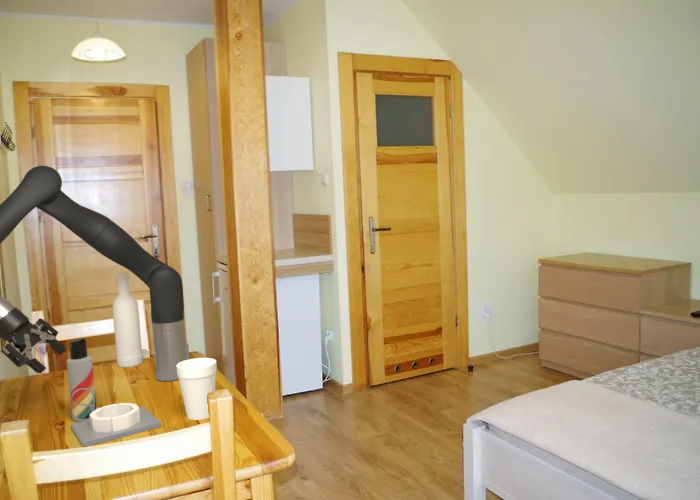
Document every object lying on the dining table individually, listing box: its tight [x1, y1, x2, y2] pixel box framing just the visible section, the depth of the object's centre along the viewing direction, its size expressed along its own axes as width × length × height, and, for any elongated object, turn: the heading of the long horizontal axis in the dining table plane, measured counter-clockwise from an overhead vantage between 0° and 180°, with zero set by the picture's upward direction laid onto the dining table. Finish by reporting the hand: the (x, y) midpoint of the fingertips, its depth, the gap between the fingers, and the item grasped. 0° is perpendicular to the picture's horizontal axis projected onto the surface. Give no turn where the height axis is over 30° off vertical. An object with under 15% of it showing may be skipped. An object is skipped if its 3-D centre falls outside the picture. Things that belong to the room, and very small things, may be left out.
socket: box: [70, 402, 162, 448], centre depth 141 cm, size 17×14×4 cm
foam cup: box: [176, 357, 218, 421], centre depth 146 cm, size 10×9×13 cm
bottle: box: [111, 271, 144, 368], centre depth 194 cm, size 8×8×30 cm
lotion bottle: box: [66, 337, 98, 423], centre depth 148 cm, size 6×6×20 cm
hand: (53, 361), depth 151 cm, fingers open, 8 cm apart
